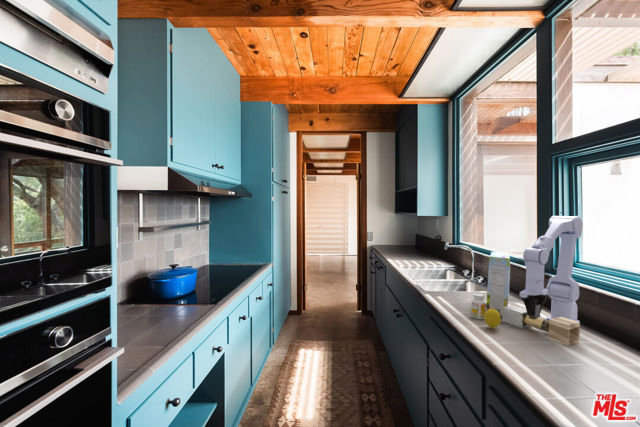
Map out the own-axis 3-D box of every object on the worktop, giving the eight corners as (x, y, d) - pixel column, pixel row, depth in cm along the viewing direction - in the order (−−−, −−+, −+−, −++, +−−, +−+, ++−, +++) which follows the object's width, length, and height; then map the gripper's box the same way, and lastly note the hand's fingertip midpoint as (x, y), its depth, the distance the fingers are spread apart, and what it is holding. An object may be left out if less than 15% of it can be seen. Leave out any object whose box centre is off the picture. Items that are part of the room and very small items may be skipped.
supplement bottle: (484, 316, 134) (484, 293, 134) (486, 320, 129) (487, 297, 129) (470, 314, 136) (470, 292, 136) (472, 318, 131) (472, 295, 130)
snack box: (508, 318, 132) (510, 258, 131) (485, 314, 136) (487, 256, 136) (508, 305, 150) (510, 252, 150) (488, 302, 155) (490, 250, 154)
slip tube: (510, 317, 130) (510, 296, 130) (553, 331, 115) (554, 307, 115) (503, 318, 129) (504, 296, 128) (546, 333, 114) (547, 309, 113)
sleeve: (511, 319, 131) (512, 305, 131) (531, 326, 123) (531, 311, 123) (502, 321, 128) (502, 306, 128) (521, 328, 121) (522, 312, 121)
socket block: (560, 335, 114) (560, 316, 114) (579, 342, 109) (579, 322, 109) (548, 338, 112) (549, 319, 111) (567, 345, 106) (568, 325, 106)
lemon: (502, 332, 117) (503, 311, 116) (486, 330, 118) (487, 309, 117) (497, 326, 122) (498, 306, 122) (482, 325, 123) (482, 305, 123)
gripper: (533, 283, 113) (532, 320, 113) (557, 280, 119) (556, 315, 119) (514, 279, 119) (513, 314, 120) (538, 276, 125) (537, 309, 126)
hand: (533, 314), depth 120 cm, fingers open, 3 cm apart
